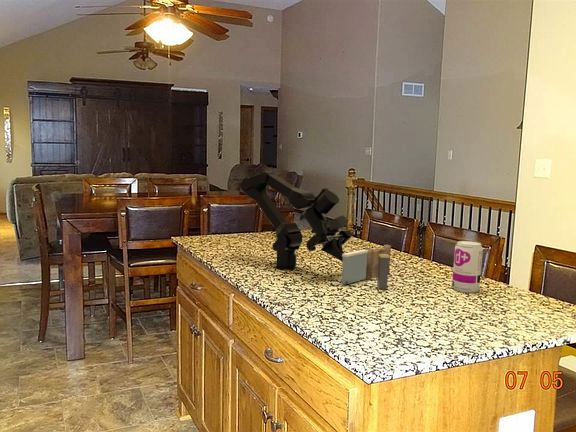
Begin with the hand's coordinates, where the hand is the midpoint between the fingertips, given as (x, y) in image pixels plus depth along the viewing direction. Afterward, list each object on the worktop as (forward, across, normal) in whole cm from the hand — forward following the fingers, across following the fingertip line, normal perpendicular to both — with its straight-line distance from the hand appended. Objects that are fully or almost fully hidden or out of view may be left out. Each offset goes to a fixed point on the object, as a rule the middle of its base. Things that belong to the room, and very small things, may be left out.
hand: (343, 260), depth 173 cm
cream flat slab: (+7, +1, +2) cm, 8 cm away
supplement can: (+28, +22, -18) cm, 39 cm away
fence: (+7, +15, +2) cm, 16 cm away
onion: (+3, +23, +6) cm, 24 cm away
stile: (+14, +2, -5) cm, 15 cm away
